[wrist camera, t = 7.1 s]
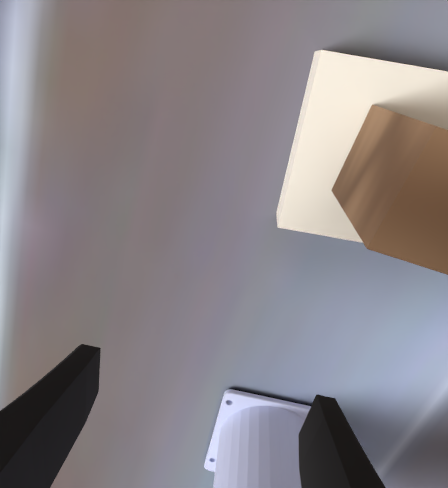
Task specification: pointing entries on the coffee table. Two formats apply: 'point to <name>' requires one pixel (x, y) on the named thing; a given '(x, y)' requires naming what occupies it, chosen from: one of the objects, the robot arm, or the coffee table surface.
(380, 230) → the walnut block
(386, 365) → the coffee table surface
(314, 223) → the cream slab
